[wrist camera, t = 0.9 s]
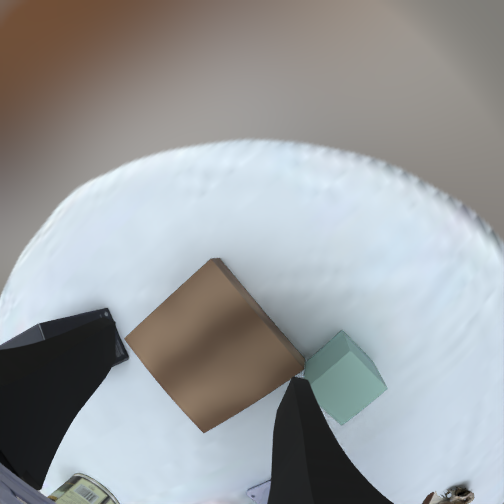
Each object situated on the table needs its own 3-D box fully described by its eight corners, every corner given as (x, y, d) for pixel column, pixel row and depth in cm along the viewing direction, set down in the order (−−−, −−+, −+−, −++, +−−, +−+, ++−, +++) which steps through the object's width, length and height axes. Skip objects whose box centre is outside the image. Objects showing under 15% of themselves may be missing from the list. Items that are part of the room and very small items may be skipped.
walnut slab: (304, 359, 26) (304, 369, 24) (211, 421, 28) (203, 433, 25) (219, 257, 28) (211, 258, 25) (137, 332, 29) (124, 338, 27)
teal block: (373, 362, 25) (387, 388, 19) (336, 393, 26) (341, 425, 20) (342, 329, 26) (350, 350, 20) (305, 362, 26) (303, 390, 20)
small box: (107, 303, 30) (37, 319, 20) (131, 358, 30) (68, 393, 19) (54, 329, 32) (-7, 345, 22) (74, 376, 31) (16, 403, 21)
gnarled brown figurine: (488, 448, 21) (502, 504, 16) (467, 442, 27) (483, 492, 22) (403, 502, 22) (423, 554, 17) (393, 487, 27) (412, 536, 22)
